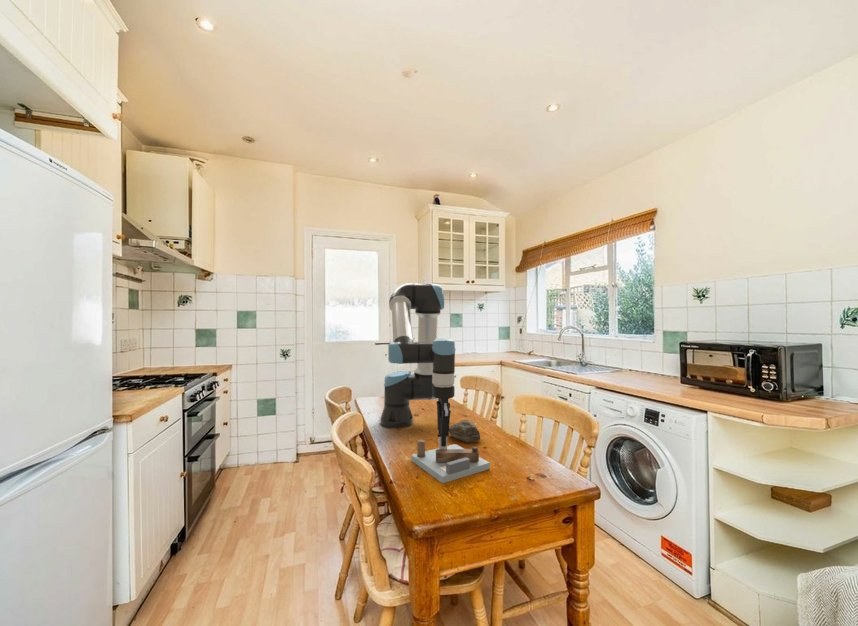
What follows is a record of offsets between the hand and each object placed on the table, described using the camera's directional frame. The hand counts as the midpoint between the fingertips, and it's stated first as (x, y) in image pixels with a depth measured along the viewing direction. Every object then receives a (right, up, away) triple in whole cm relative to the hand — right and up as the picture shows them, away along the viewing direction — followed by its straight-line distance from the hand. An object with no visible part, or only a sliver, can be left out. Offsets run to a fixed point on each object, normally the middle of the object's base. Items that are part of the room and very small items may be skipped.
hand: (442, 454), depth 117 cm
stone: (+10, -4, +25) cm, 27 cm away
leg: (+5, -1, -2) cm, 5 cm away
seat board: (+2, -3, 0) cm, 4 cm away
